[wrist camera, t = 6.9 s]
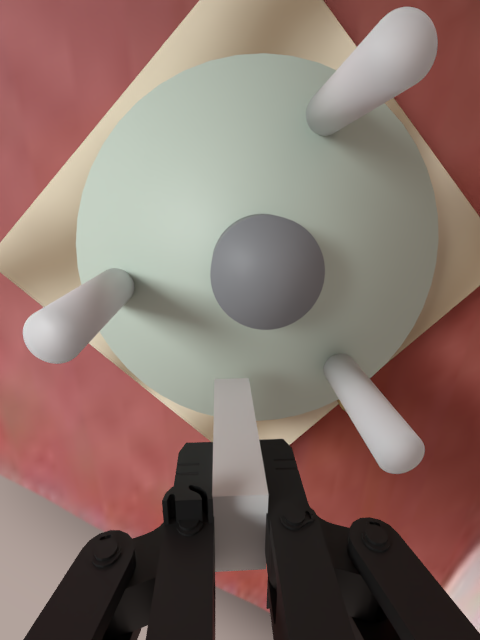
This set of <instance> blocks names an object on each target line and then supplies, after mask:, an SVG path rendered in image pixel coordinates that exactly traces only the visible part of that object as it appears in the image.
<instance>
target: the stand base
mask: <svg viewBox="0 0 480 640" xmlns="http://www.w3.org/2000/svg"><path fill="white" fill-rule="evenodd" d="M356 48H357V47H356V45H355V44H354V42H353V41H352V40H351V38H350V37H349V36H348V34H347V33H346V31H345V30H344V29H343V27H342V26H341V24H340V23H339V22H338V20H337V19H336V18H335V16H334V15H333V13H332V12H331V11H330V9H329V8H328V6H327V5H326V4H325V2H324V1H323V0H200V1H199V2H198V3H197V4H196V5H195V7H194V8H193V9H192V10H191V11H190V13H189V14H188V15H187V16H186V18H185V19H184V20H183V21H182V22H181V24H180V25H179V26H178V27H177V28H176V30H175V31H174V32H173V33H172V35H171V36H170V37H169V38H168V39H167V41H166V42H165V43H164V44H163V45H162V47H161V48H160V49H159V50H158V52H157V53H156V54H155V55H154V56H153V58H152V59H151V60H150V61H149V63H148V64H147V65H146V66H145V67H144V69H143V70H142V71H141V72H140V73H139V75H138V76H137V77H136V78H135V80H134V81H133V82H132V83H131V84H130V86H129V87H128V88H127V89H126V90H125V92H124V93H123V94H122V95H121V97H120V98H119V99H118V100H117V101H116V103H115V104H114V105H113V106H112V107H111V109H110V110H109V111H108V112H107V114H106V115H105V116H104V117H103V118H102V120H101V121H100V122H99V123H98V125H97V126H96V127H95V128H94V129H93V131H92V132H91V133H90V134H89V135H88V137H87V138H86V139H85V140H84V142H83V143H82V144H81V145H80V146H79V148H78V149H77V150H76V151H75V152H74V154H73V155H72V156H71V157H70V159H69V160H68V161H67V162H66V163H65V165H64V166H63V167H62V168H61V169H60V171H59V172H58V173H57V174H56V176H55V177H54V178H53V179H52V180H51V182H50V183H49V184H48V185H47V187H46V188H45V189H44V190H43V191H42V193H41V194H40V195H39V196H38V197H37V199H36V200H35V201H34V202H33V204H32V205H31V206H30V207H29V208H28V210H27V211H26V212H25V213H24V214H23V216H22V217H21V218H20V219H19V221H18V222H17V223H16V224H15V225H14V227H13V228H12V229H11V230H10V231H9V233H8V234H7V235H6V236H5V238H4V239H3V240H2V241H1V242H0V272H1V273H2V274H3V275H4V276H6V277H7V278H8V279H9V280H11V281H12V282H13V283H14V284H16V285H17V286H18V287H19V288H21V289H22V290H23V291H24V292H26V293H27V294H28V295H29V296H31V297H32V298H33V299H34V300H36V301H37V302H38V303H39V304H41V305H42V306H43V307H45V306H47V305H49V304H50V303H52V302H54V301H55V300H57V299H59V298H60V297H62V296H64V295H65V294H67V293H69V292H70V291H72V290H74V289H75V288H77V287H79V286H80V285H81V281H80V276H79V271H78V265H77V252H76V232H77V217H78V212H79V207H80V202H81V197H82V192H83V189H84V186H85V183H86V180H87V177H88V175H89V172H90V169H91V166H92V165H93V163H94V161H95V159H96V157H97V155H98V153H99V151H100V149H101V147H102V145H103V143H104V142H105V140H106V139H107V138H108V136H109V135H110V133H111V132H112V130H113V129H114V128H115V126H116V125H117V123H118V122H119V121H120V120H121V119H122V118H123V117H124V116H125V114H126V113H127V112H128V111H129V110H130V109H131V108H132V107H133V106H134V105H135V104H136V103H137V102H138V101H139V100H140V99H142V98H143V97H144V96H146V95H147V94H148V93H149V92H151V91H152V90H153V89H154V88H156V87H157V86H158V85H160V84H161V83H163V82H165V81H167V80H168V79H170V78H172V77H174V76H175V75H177V74H179V73H181V72H182V71H184V70H187V69H190V68H192V67H195V66H197V65H200V64H203V63H205V62H208V61H211V60H216V59H220V58H225V57H229V56H234V55H243V54H260V53H267V54H278V55H289V56H295V57H299V58H302V59H306V60H310V61H314V62H318V63H321V64H323V65H325V66H328V67H330V68H332V69H335V70H337V69H338V68H339V67H340V66H341V65H342V63H343V62H344V61H345V60H346V59H347V58H348V57H349V56H350V54H351V53H352V52H353V51H354V50H355V49H356ZM385 104H386V105H387V106H388V107H389V109H390V110H391V111H392V112H393V113H394V114H395V115H396V117H397V118H398V119H399V120H400V121H401V122H402V124H403V125H404V127H405V128H406V130H407V131H408V133H409V134H410V136H411V137H412V139H413V141H414V142H415V144H416V145H417V147H418V150H419V152H420V154H421V156H422V158H423V161H424V163H425V165H426V167H427V170H428V173H429V177H430V180H431V183H432V187H433V190H434V194H435V201H436V207H437V213H438V238H439V240H438V250H437V260H436V266H435V271H434V275H433V279H432V284H431V287H430V290H429V293H428V296H427V298H426V301H425V304H424V307H423V309H422V311H421V313H420V315H419V317H418V319H417V321H416V323H415V325H414V327H413V328H412V330H411V331H410V333H409V334H408V336H407V337H406V339H405V341H404V342H403V344H402V345H401V346H400V348H399V349H398V350H397V351H396V352H395V354H394V355H393V356H392V357H391V358H390V360H391V359H393V358H394V357H395V356H396V355H397V354H399V353H400V352H401V351H402V350H403V349H405V348H406V347H407V346H408V345H409V344H411V343H412V342H413V341H414V340H415V339H417V338H418V337H419V336H420V335H421V334H422V333H424V332H425V331H426V330H427V329H428V328H430V327H431V326H432V325H433V324H434V323H436V322H437V321H438V320H439V319H440V318H442V317H443V316H444V315H445V314H446V313H448V312H449V311H450V310H451V309H452V308H453V307H455V306H456V305H457V304H458V303H459V302H461V301H462V300H463V299H464V298H465V297H467V296H468V295H469V294H470V293H471V292H473V291H474V290H475V289H476V288H477V287H479V286H480V217H479V215H478V214H477V213H476V211H475V210H474V209H473V207H472V206H471V204H470V203H469V202H468V200H467V199H466V197H465V196H464V195H463V193H462V192H461V191H460V189H459V188H458V186H457V185H456V184H455V182H454V181H453V180H452V178H451V177H450V175H449V174H448V173H447V171H446V170H445V168H444V167H443V166H442V164H441V163H440V162H439V160H438V159H437V157H436V156H435V155H434V153H433V152H432V150H431V149H430V148H429V146H428V145H427V144H426V142H425V141H424V139H423V138H422V137H421V135H420V134H419V132H418V131H417V130H416V128H415V127H414V126H413V124H412V123H411V121H410V120H409V119H408V117H407V116H406V114H405V113H404V112H403V110H402V109H401V108H400V106H399V105H398V103H397V102H396V101H395V99H394V98H392V99H390V100H389V101H387V102H385ZM89 344H90V345H92V346H93V347H94V348H95V349H97V350H98V351H99V352H100V353H102V354H103V355H104V356H105V357H107V358H108V359H109V360H110V361H111V362H113V363H114V364H115V365H116V366H118V367H119V368H120V369H121V370H123V371H124V372H125V373H126V374H128V375H129V376H130V377H131V378H133V379H134V380H135V381H136V382H138V383H139V384H140V385H141V386H143V387H144V388H145V389H146V390H148V391H149V392H150V393H151V394H153V395H154V396H155V397H156V398H158V399H159V400H160V401H161V402H163V403H164V404H165V405H166V406H167V407H169V408H170V409H171V410H172V411H174V412H175V413H176V414H177V415H179V416H180V417H181V418H182V419H184V420H185V421H186V422H187V423H189V424H190V425H191V426H192V427H194V428H195V429H196V430H197V431H199V432H200V433H201V434H202V435H204V436H205V437H206V438H207V439H209V440H210V441H211V442H213V426H214V416H211V415H207V414H203V413H199V412H196V411H194V410H191V409H189V408H186V407H184V406H181V405H179V404H177V403H175V402H173V401H171V400H169V399H167V398H166V397H164V396H162V395H160V394H159V393H157V392H156V391H154V390H153V389H152V388H150V387H149V386H147V385H146V384H144V383H143V382H142V381H141V380H140V379H139V378H137V377H136V376H135V375H134V374H133V373H132V372H131V371H130V370H129V369H127V367H126V366H125V365H124V364H123V363H122V362H121V361H120V359H119V358H118V357H117V356H116V355H115V354H114V352H113V351H112V350H111V348H110V347H109V345H108V344H107V342H106V341H105V339H104V338H103V336H102V335H101V333H100V331H99V332H98V334H97V335H96V336H95V337H94V338H93V339H92V340H91V341H90V342H89ZM390 360H389V361H390ZM389 361H388V362H389ZM388 362H387V363H388ZM387 363H386V364H387ZM338 404H339V405H340V407H341V408H342V409H343V410H344V411H346V410H345V408H344V407H343V405H342V403H341V402H340V400H339V399H338V400H336V401H334V402H332V403H330V404H328V405H325V406H323V407H321V408H319V409H316V410H313V411H310V412H307V413H303V414H300V415H296V416H291V417H286V418H282V419H273V420H262V421H256V424H257V430H258V436H259V440H263V439H284V440H285V441H286V442H287V443H288V444H289V445H290V444H291V443H292V442H294V441H295V440H296V439H297V438H298V437H300V436H301V435H302V434H303V433H304V432H306V431H307V430H308V429H309V428H310V427H312V426H313V425H314V424H315V423H316V422H317V421H319V420H320V419H321V418H322V417H323V416H325V415H326V414H327V413H328V412H329V411H331V410H332V409H333V408H334V407H335V406H337V405H338Z"/></svg>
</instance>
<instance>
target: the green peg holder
mask: <svg viewBox="0 0 480 640" xmlns="http://www.w3.org/2000/svg"><path fill="white" fill-rule="evenodd" d="M437 45H438V41H437V33H436V29H435V27H434V24H433V22H432V21H431V19H430V18H429V17H428V15H426V14H425V13H424V12H423V11H421V10H419V9H417V8H414V7H401V8H398V9H395V10H393V11H391V12H390V13H388V14H387V15H386V16H385V17H383V18H382V19H381V21H380V22H379V23H378V24H377V25H376V26H375V27H374V29H373V30H372V31H371V32H370V33H369V34H368V35H367V36H366V38H365V39H364V40H363V41H362V42H361V43H360V44H359V45H358V47H357V48H356V49H355V50H354V51H353V52H352V53H351V54H350V56H349V57H348V58H347V59H346V60H345V61H344V62H343V63H342V65H341V66H340V67H339V68H338V69H337V70H335V69H332V68H330V67H328V66H325V65H323V64H321V63H318V62H314V61H310V60H306V59H302V58H299V57H295V56H289V55H278V54H267V53H260V54H243V55H234V56H229V57H225V58H220V59H216V60H211V61H208V62H205V63H203V64H200V65H197V66H195V67H192V68H190V69H187V70H184V71H182V72H181V73H179V74H177V75H175V76H174V77H172V78H170V79H168V80H167V81H165V82H163V83H161V84H160V85H158V86H157V87H156V88H154V89H153V90H152V91H151V92H149V93H148V94H147V95H146V96H144V97H143V98H142V99H140V100H139V101H138V102H137V103H136V104H135V105H134V106H133V107H132V108H131V109H130V110H129V111H128V112H127V113H126V114H125V116H124V117H123V118H122V119H121V120H120V121H119V122H118V123H117V125H116V126H115V128H114V129H113V130H112V132H111V133H110V135H109V136H108V138H107V139H106V140H105V142H104V143H103V145H102V147H101V149H100V151H99V153H98V155H97V157H96V159H95V161H94V163H93V165H92V166H91V169H90V172H89V175H88V177H87V180H86V183H85V186H84V189H83V192H82V197H81V202H80V207H79V212H78V217H77V232H76V252H77V265H78V271H79V276H80V281H81V285H80V286H79V287H77V288H75V289H74V290H72V291H70V292H69V293H67V294H65V295H64V296H62V297H60V298H59V299H57V300H55V301H54V302H52V303H50V304H49V305H47V306H45V307H44V308H42V309H40V310H39V311H37V312H35V313H34V314H32V315H31V316H30V317H29V318H28V319H27V321H26V322H25V325H24V328H23V338H24V341H25V344H26V346H27V348H28V349H29V350H30V352H31V353H32V354H33V355H35V356H36V357H37V358H39V359H41V360H43V361H45V362H49V363H55V364H59V363H65V362H68V361H70V360H72V359H74V358H75V357H76V356H77V355H78V354H79V353H80V352H81V351H82V350H83V349H84V348H85V346H86V345H87V344H88V343H89V342H90V341H91V340H92V339H93V338H94V337H95V336H96V335H97V334H98V332H99V331H100V333H101V335H102V336H103V338H104V339H105V341H106V342H107V344H108V345H109V347H110V348H111V350H112V351H113V352H114V354H115V355H116V356H117V357H118V358H119V359H120V361H121V362H122V363H123V364H124V365H125V366H126V367H127V369H129V370H130V371H131V372H132V373H133V374H134V375H135V376H136V377H137V378H139V379H140V380H141V381H142V382H143V383H144V384H146V385H147V386H149V387H150V388H152V389H153V390H154V391H156V392H157V393H159V394H160V395H162V396H164V397H166V398H167V399H169V400H171V401H173V402H175V403H177V404H179V405H181V406H184V407H186V408H189V409H191V410H194V411H196V412H199V413H203V414H207V415H211V416H214V379H235V378H249V383H250V389H251V394H252V400H253V406H254V412H255V418H256V421H262V420H273V419H282V418H286V417H291V416H296V415H300V414H303V413H307V412H310V411H313V410H316V409H319V408H321V407H323V406H325V405H328V404H330V403H332V402H334V401H336V400H338V399H339V400H340V402H341V403H342V405H343V407H344V408H345V410H346V412H347V413H348V415H349V417H350V418H351V420H352V422H353V423H354V425H355V427H356V428H357V430H358V432H359V433H360V435H361V437H362V438H363V440H364V442H365V443H366V445H367V447H368V448H369V450H370V452H371V453H372V455H373V457H374V458H375V460H376V462H377V463H378V465H379V466H380V468H381V469H383V470H384V471H386V472H388V473H392V474H401V473H405V472H408V471H410V470H412V469H413V468H415V467H416V466H417V465H418V464H419V463H420V462H421V460H422V459H423V456H424V453H425V447H424V444H423V442H422V440H421V439H420V438H419V437H418V435H417V434H416V433H415V432H414V431H413V429H412V428H411V427H410V426H409V425H408V424H407V422H406V421H405V420H404V419H403V418H402V416H401V415H400V414H399V413H398V412H397V411H396V409H395V408H394V407H393V406H392V405H391V403H390V402H389V401H388V400H387V399H386V397H385V396H384V395H383V394H382V393H381V392H380V390H379V389H378V388H377V387H376V386H375V384H374V383H373V382H372V381H371V380H370V378H371V377H372V376H373V375H374V374H375V373H376V372H377V371H379V370H380V369H381V368H382V367H383V366H384V365H385V364H386V363H387V362H388V361H389V360H390V358H391V357H392V356H393V355H394V354H395V352H396V351H397V350H398V349H399V348H400V346H401V345H402V344H403V342H404V341H405V339H406V337H407V336H408V334H409V333H410V331H411V330H412V328H413V327H414V325H415V323H416V321H417V319H418V317H419V315H420V313H421V311H422V309H423V307H424V304H425V301H426V298H427V296H428V293H429V290H430V287H431V284H432V279H433V275H434V271H435V266H436V260H437V250H438V240H439V238H438V213H437V207H436V201H435V194H434V190H433V187H432V183H431V180H430V177H429V173H428V170H427V167H426V165H425V163H424V161H423V158H422V156H421V154H420V152H419V150H418V147H417V145H416V144H415V142H414V141H413V139H412V137H411V136H410V134H409V133H408V131H407V130H406V128H405V127H404V125H403V124H402V122H401V121H400V120H399V119H398V118H397V117H396V115H395V114H394V113H393V112H392V111H391V110H390V109H389V107H388V106H387V105H386V104H385V102H387V101H389V100H390V99H392V98H394V97H395V96H397V95H399V94H400V93H402V92H404V91H405V90H407V89H409V88H410V87H412V86H414V85H415V84H417V83H418V82H420V81H421V80H422V79H423V78H424V77H425V76H426V75H427V73H428V72H429V70H430V69H431V67H432V65H433V63H434V60H435V57H436V53H437Z"/></svg>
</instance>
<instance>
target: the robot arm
mask: <svg viewBox="0 0 480 640" xmlns="http://www.w3.org/2000/svg"><path fill="white" fill-rule="evenodd" d="M162 505H163V518H164V523H163V524H162V525H161V526H160V527H158V528H157V529H155V530H154V531H152V532H150V533H147V534H145V535H142V536H139V537H136V538H133V539H132V538H131V537H130V536H129V535H128V534H127V533H125V532H122V531H120V530H110V531H107V532H104V533H101V534H99V535H97V536H95V537H94V538H93V539H91V540H90V541H89V542H88V543H87V544H86V545H85V546H84V547H83V549H82V550H81V552H80V553H79V555H78V556H77V558H76V559H75V561H74V562H73V564H72V565H71V567H70V568H69V570H68V572H67V573H66V575H65V576H64V578H63V580H62V581H61V582H60V584H59V586H58V587H57V589H56V590H55V592H54V593H53V595H52V597H51V598H50V600H49V601H48V603H47V604H46V606H45V607H44V609H43V610H42V612H41V613H40V615H39V617H38V618H37V619H36V621H35V623H34V624H33V626H32V627H31V629H30V630H29V632H28V633H27V635H26V636H25V638H24V640H137V638H138V636H139V633H140V631H141V628H142V627H144V626H147V625H148V629H147V636H146V640H215V572H220V571H239V570H258V569H266V564H267V572H268V587H267V609H268V608H270V614H271V622H272V630H273V639H274V640H480V633H479V632H478V631H477V630H476V629H475V627H474V626H473V625H472V624H471V622H470V621H469V620H468V619H467V617H466V616H465V615H464V614H463V613H462V611H461V610H460V609H459V608H458V606H457V605H456V604H455V603H454V602H453V600H452V599H451V598H450V597H449V595H448V594H447V593H446V592H445V590H444V589H443V588H442V587H441V586H440V584H439V583H438V582H437V581H436V579H435V578H434V577H433V576H432V575H431V573H430V572H429V571H428V570H427V568H426V567H425V566H424V565H423V563H422V562H421V561H420V560H419V559H418V557H417V556H416V555H415V554H414V552H413V551H412V550H411V549H410V548H409V546H408V545H407V544H406V543H405V541H404V540H403V539H402V538H401V536H400V535H399V534H398V533H397V532H396V531H395V530H394V529H393V528H392V527H391V526H390V525H388V524H386V523H385V522H383V521H381V520H378V519H374V518H370V517H369V518H360V519H358V520H356V521H354V522H353V523H352V525H351V527H350V528H347V527H343V526H339V525H335V524H332V523H329V522H326V521H325V520H323V519H321V518H319V517H318V516H317V515H316V513H315V512H314V510H313V509H311V508H310V506H309V504H308V502H307V498H306V495H305V492H304V488H303V485H302V481H301V478H300V475H299V471H298V469H297V464H296V461H295V457H294V454H293V451H292V448H291V447H290V446H289V444H288V443H287V442H286V441H285V440H284V439H263V440H259V436H258V430H257V424H256V418H255V412H254V406H253V400H252V394H251V389H250V383H249V378H235V379H214V426H213V442H200V443H186V444H185V445H184V447H183V448H182V449H181V451H180V452H179V456H178V462H177V469H176V475H175V482H174V487H172V488H171V489H170V490H169V491H168V492H167V493H166V494H165V496H164V498H163V500H162Z"/></svg>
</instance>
